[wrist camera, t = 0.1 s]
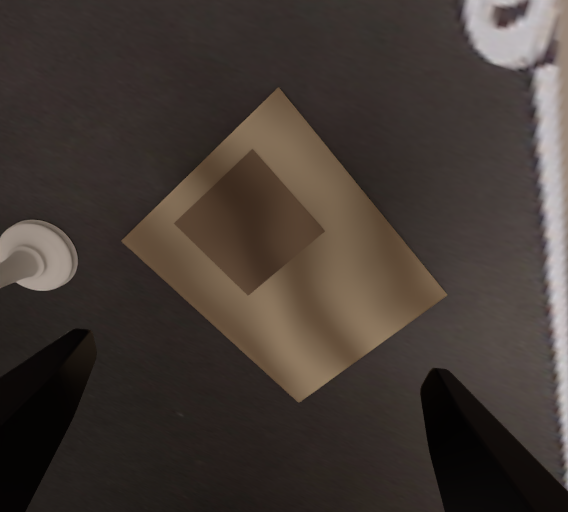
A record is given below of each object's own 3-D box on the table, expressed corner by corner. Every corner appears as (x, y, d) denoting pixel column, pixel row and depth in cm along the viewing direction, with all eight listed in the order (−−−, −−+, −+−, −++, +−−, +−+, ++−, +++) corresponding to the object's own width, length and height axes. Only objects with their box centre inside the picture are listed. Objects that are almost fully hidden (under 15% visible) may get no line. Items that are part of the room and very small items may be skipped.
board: (298, 399, 29) (298, 403, 29) (123, 239, 24) (120, 241, 24) (445, 292, 26) (448, 295, 26) (278, 87, 22) (278, 87, 21)
